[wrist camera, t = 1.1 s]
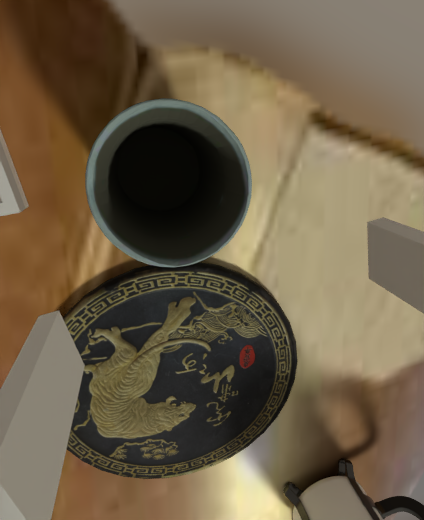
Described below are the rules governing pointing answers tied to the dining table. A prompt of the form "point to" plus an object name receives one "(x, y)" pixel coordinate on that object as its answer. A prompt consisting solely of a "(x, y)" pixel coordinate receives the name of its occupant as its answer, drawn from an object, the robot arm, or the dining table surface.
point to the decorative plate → (177, 369)
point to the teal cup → (168, 182)
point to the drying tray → (9, 184)
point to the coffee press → (345, 500)
